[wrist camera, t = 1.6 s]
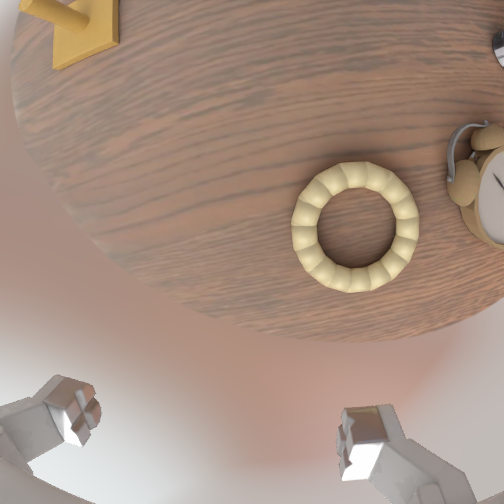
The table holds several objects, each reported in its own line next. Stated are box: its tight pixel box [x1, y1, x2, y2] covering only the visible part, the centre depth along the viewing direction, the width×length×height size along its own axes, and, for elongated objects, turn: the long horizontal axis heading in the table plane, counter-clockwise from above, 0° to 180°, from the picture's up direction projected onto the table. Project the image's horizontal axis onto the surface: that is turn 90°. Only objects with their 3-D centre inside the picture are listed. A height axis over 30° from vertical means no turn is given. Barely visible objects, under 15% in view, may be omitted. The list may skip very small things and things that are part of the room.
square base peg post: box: [19, 0, 119, 70], centre depth 21 cm, size 9×9×12 cm
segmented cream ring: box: [291, 161, 419, 293], centre depth 29 cm, size 13×13×2 cm
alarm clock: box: [446, 120, 504, 250], centre depth 25 cm, size 11×5×15 cm
